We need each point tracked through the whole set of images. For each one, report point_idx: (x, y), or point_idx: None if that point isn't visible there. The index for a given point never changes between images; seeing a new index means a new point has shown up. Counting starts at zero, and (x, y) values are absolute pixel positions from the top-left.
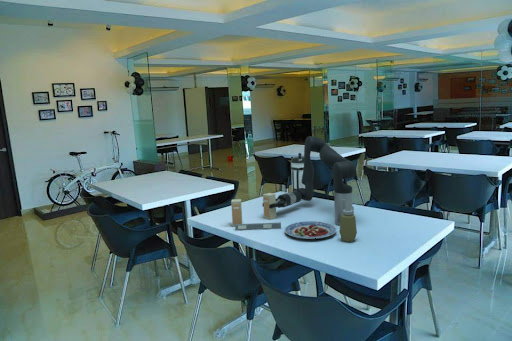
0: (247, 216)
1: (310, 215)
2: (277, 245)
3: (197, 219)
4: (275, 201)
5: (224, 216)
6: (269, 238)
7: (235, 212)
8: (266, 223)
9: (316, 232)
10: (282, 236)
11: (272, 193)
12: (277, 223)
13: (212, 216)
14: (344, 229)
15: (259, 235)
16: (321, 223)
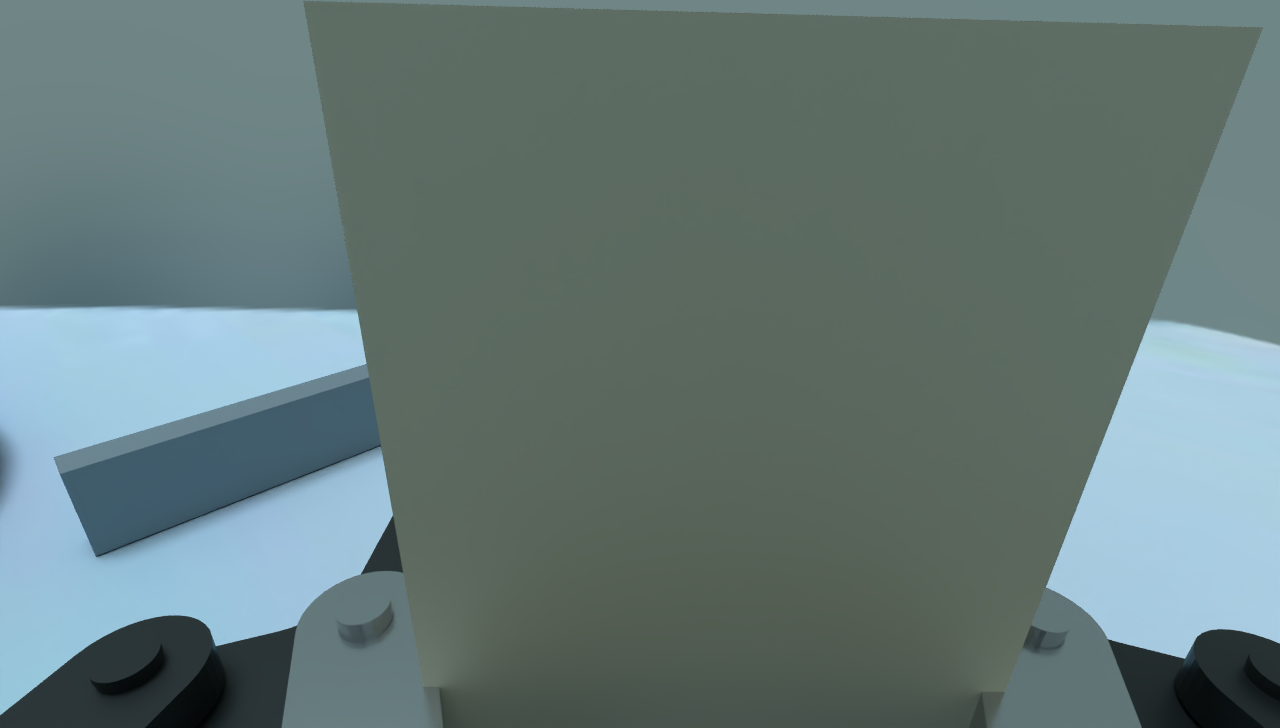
0: (1111, 635)
1: None
2: (73, 321)
3: (1165, 336)
4: (418, 610)
5: (1232, 464)
6: (193, 353)
7: None
8: (320, 382)
9: None
10: (33, 409)
11: (704, 15)
12: (129, 438)
13: (1270, 411)
14: None
15: (329, 353)
16: None
